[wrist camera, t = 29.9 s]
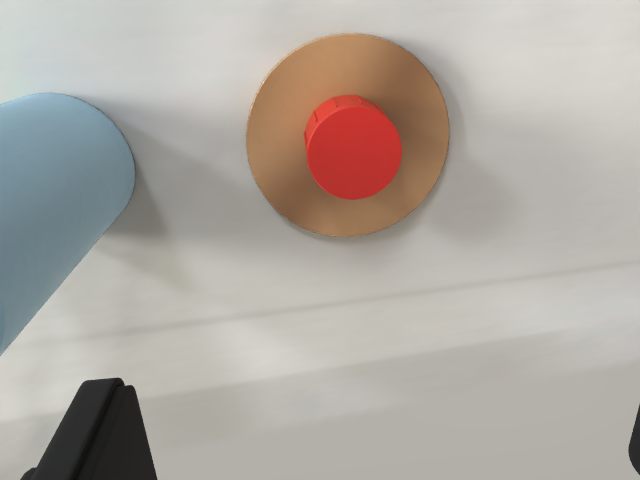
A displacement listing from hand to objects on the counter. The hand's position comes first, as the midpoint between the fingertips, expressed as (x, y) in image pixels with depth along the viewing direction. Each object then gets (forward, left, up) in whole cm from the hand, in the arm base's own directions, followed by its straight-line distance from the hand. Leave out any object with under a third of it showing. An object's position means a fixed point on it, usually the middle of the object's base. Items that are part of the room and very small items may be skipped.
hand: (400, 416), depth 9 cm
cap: (0, +1, -17) cm, 17 cm away
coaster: (+1, +1, -18) cm, 18 cm away
